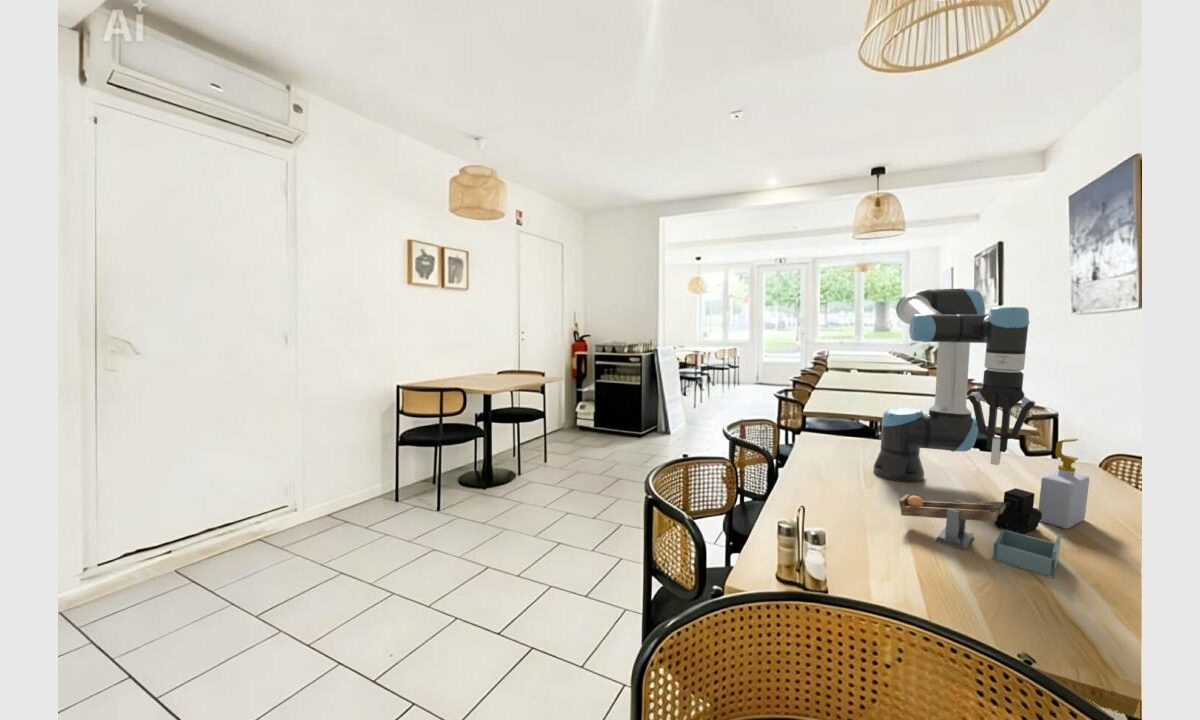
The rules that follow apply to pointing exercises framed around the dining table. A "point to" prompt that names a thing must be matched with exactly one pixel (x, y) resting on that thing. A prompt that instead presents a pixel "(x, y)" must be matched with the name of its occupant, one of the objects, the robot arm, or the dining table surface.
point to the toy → (1019, 511)
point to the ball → (915, 501)
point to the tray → (1027, 552)
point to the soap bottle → (1063, 493)
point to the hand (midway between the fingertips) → (995, 463)
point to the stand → (955, 530)
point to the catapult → (967, 510)
